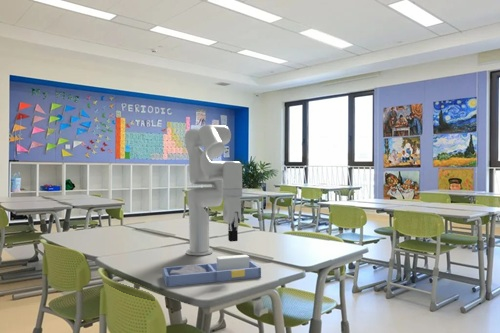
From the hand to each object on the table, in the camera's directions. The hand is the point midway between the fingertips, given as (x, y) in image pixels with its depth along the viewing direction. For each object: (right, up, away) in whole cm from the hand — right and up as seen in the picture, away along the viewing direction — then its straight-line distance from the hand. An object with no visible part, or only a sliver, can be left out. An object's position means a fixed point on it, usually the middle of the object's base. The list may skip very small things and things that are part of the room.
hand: (233, 240), depth 149 cm
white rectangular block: (0, -13, 0) cm, 13 cm away
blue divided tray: (-8, -13, -3) cm, 16 cm away
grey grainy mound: (-16, -13, -6) cm, 22 cm away
